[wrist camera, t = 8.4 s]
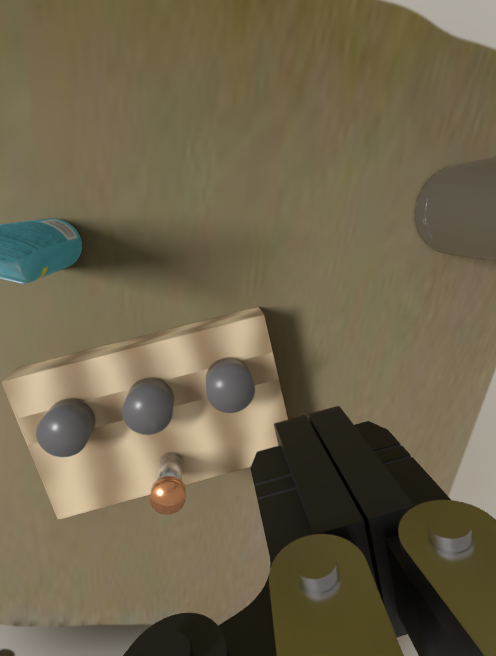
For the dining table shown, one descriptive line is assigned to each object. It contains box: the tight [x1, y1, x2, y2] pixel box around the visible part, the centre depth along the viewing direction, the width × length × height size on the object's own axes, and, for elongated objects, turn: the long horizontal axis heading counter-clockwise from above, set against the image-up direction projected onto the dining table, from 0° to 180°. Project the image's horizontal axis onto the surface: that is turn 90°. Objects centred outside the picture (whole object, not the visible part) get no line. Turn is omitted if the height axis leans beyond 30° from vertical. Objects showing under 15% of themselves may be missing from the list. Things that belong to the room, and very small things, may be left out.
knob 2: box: [206, 358, 255, 413], centre depth 44 cm, size 5×5×7 cm
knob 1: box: [36, 399, 95, 457], centre depth 43 cm, size 5×5×7 cm
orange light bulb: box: [150, 452, 186, 514], centre depth 43 cm, size 3×3×6 cm
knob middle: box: [122, 378, 174, 435], centre depth 44 cm, size 5×5×7 cm
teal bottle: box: [0, 219, 82, 284], centre depth 34 cm, size 7×5×19 cm, turn 80°
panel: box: [1, 307, 288, 519], centre depth 46 cm, size 26×16×4 cm, turn 103°
